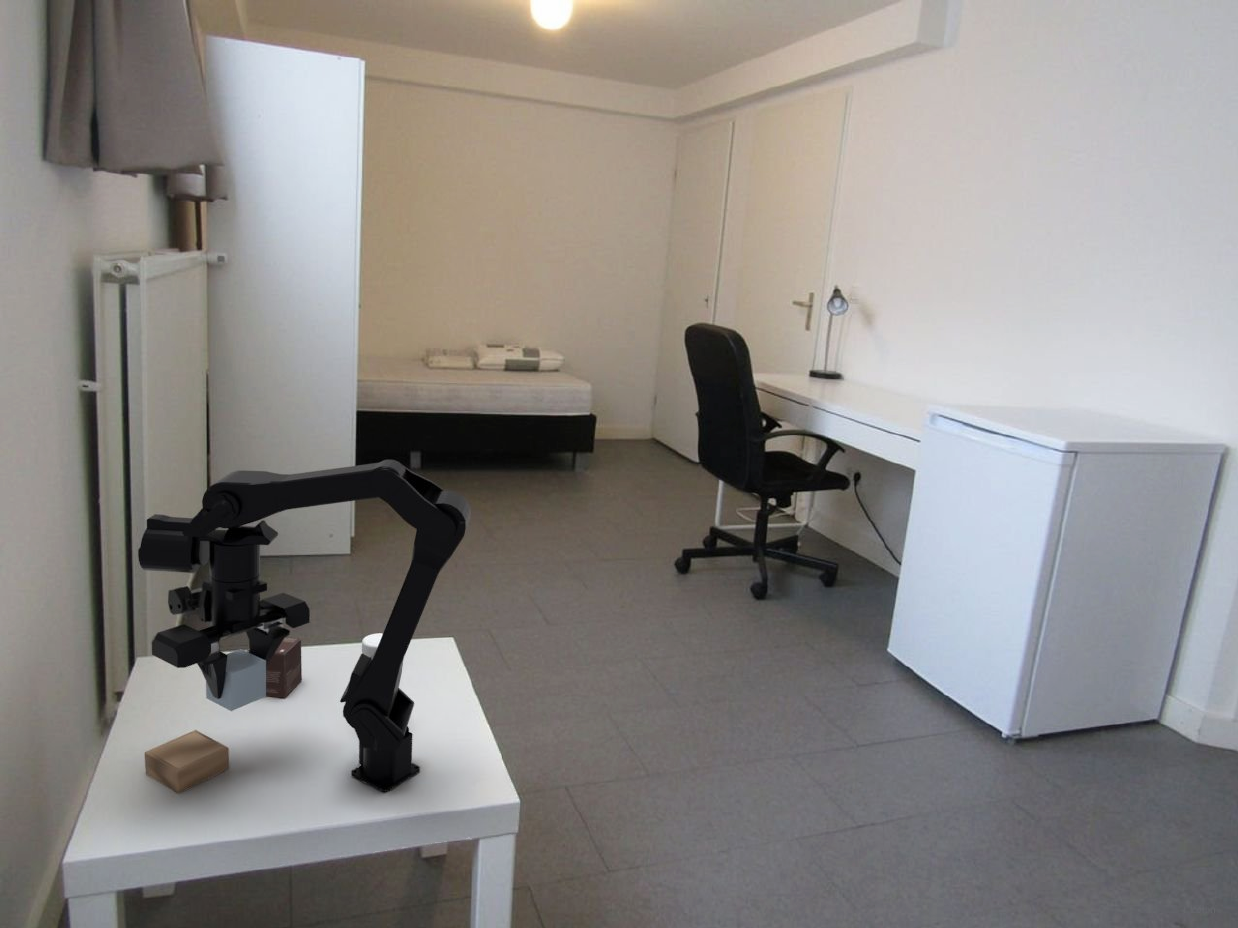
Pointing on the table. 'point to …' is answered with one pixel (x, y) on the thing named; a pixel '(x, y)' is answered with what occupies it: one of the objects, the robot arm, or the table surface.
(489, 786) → the table surface
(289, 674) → the box
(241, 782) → the table surface
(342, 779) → the table surface
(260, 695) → the blue cube
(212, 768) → the base block
